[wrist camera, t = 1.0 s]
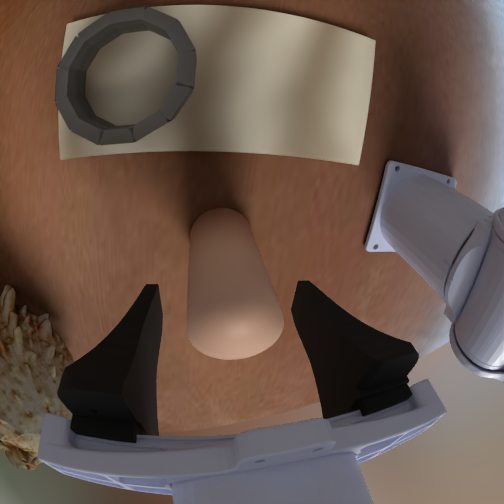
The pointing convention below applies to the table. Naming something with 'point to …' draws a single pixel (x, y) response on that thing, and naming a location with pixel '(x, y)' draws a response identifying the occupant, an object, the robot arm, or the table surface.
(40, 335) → the seashell
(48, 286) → the table surface
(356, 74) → the holder board
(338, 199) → the table surface
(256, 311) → the peg
